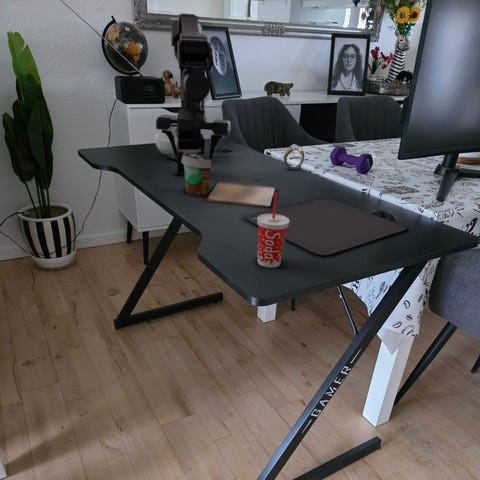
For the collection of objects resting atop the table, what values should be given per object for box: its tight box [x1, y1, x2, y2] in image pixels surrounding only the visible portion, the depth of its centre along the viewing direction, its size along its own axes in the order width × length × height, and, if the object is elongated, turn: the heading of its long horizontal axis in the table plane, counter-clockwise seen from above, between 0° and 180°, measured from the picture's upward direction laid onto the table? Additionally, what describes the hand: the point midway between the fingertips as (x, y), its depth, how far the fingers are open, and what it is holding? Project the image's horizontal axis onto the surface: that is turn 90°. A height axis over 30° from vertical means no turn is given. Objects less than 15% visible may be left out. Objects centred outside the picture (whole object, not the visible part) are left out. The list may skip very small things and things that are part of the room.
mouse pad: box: [244, 198, 407, 257], centre depth 110 cm, size 32×27×1 cm
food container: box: [181, 150, 212, 198], centre depth 123 cm, size 12×6×10 cm, turn 23°
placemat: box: [206, 181, 276, 209], centre depth 126 cm, size 17×17×1 cm
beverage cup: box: [257, 192, 290, 269], centre depth 86 cm, size 6×6×14 cm
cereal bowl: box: [154, 132, 177, 160], centre depth 156 cm, size 17×17×7 cm
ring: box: [283, 143, 305, 170], centre depth 151 cm, size 7×3×8 cm, turn 100°
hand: (193, 159), depth 121 cm, fingers open, 9 cm apart
